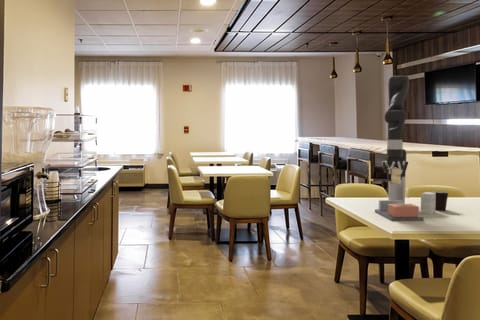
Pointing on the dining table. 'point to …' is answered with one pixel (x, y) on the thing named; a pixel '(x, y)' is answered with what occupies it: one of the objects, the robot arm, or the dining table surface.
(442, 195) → the coffee mug
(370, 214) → the dining table surface
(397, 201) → the vise
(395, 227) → the dining table surface
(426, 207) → the small box
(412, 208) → the sliding jaw
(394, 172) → the maple block
